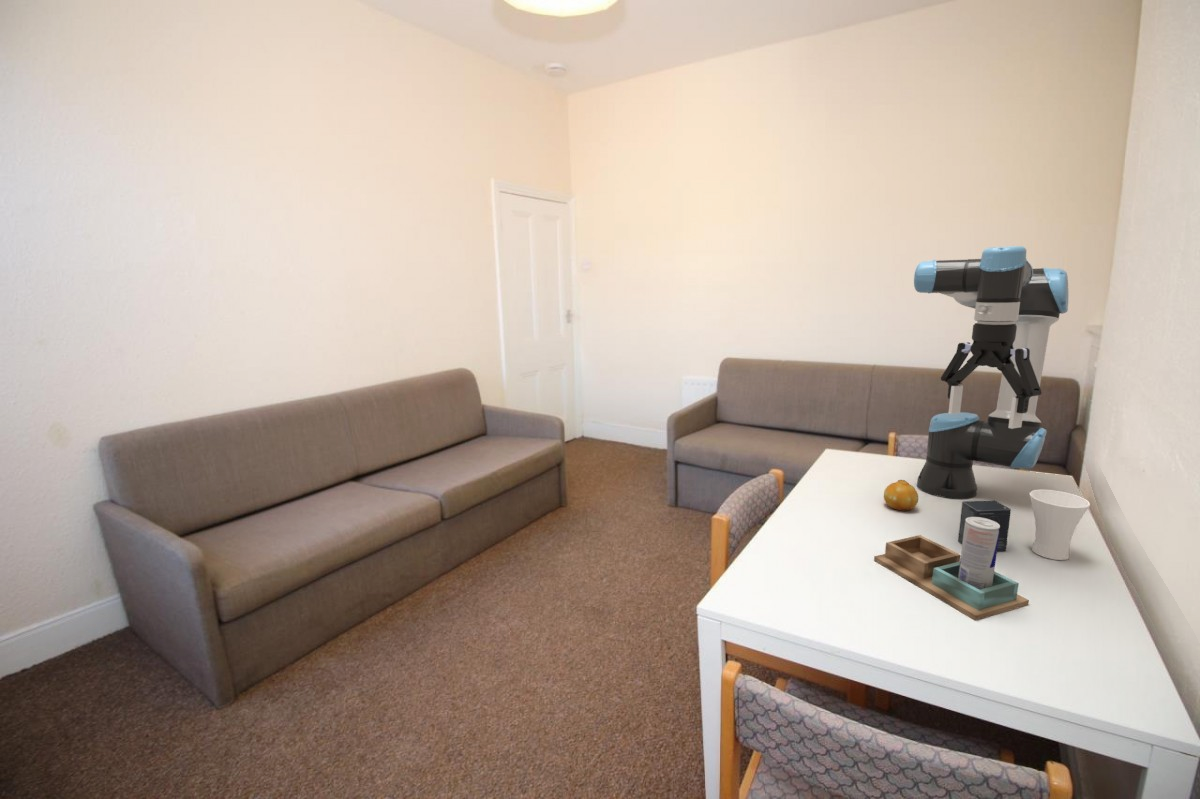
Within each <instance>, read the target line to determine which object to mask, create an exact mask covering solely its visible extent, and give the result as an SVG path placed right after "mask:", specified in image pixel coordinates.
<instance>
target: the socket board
mask: <svg viewBox="0 0 1200 799" xmlns="http://www.w3.org/2000/svg"><path fill="white" fill-rule="evenodd" d="M884 550H885V552H884V553H883V554H879V555H875V556H874V557H873V561H874V562H876V563H877V564H880V566H882V567H884V568H886V569H888V570H889V571H891V572H893V573H894V574H896V575H898V576H899V577H901V578H903V579H904V580H906V581H908V582H909V583H911V584H913V585H915V586H917V587H918V588H920V589H921V590H924V591H925V592H927V593H928V594H930V595H932V596H933V597H935V598H937V599H939V600H940V601H942V602H943V603H945V604H947V605H948V606H950V607H952V608H954V609H955V610H957V611H959V612H960V613H962V614H964V615H965V616H967V617H969V618H970V619H972V620H974V621H978V620H982V619H985V618H988V617H992V616H995V615H998V614H1002V613H1005V612H1009V611H1012V610H1015V609H1018V608H1023V607H1025V606H1028V605H1029V602H1030V599H1028V598H1025V597H1024V596H1021V595H1020V594H1018V590H1019V582H1017V581H1015V580H1014V579H1011V578H1009V577H1007V576H1005V575H1002V574H1001V573H999V572H997V571H995V570H994V576H993V583H992V587H988V588H985V589H981V590H979V589H977V588H975V587H973V586H971V585H970V584H968V583H966V582H964V581H962V580H960V579H958V575H959V567H960V559H961V553H960V554H959V553H958V552H956V551H954V550H952V549H950V548H948V547H946V546H944V545H943V544H939V543H937V542H935V541H933V540H931V539H930V538H927V537H925V536H923V535H922V534H919V535H914V536H910V537H906V538H900V539H896V540H892V541H888V542H886V543H885V549H884Z"/></svg>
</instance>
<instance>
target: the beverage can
mask: <svg viewBox="0 0 1200 799" xmlns="http://www.w3.org/2000/svg"><path fill="white" fill-rule="evenodd" d="M965 521H966V522H965V527H964V535H963V543H962V544H961V553H960V555H961V556H960V567H959V575H958V579H960V580H962V581H964V582H966V583H968V584H970V585H971V586H973V587H975V588H977V589H979V590H981V589H985V588H988V587H992V583H993V576H994V571H995V567H996V562H997V561H996V560H997V554H998V553H997V552H998V551H997V547H998V540H999V532H1000V529H999V528H1000V525H999V524H998V523H997V522H995V521H992V520H989V519H986V518H981V517H968V518H966V520H965Z"/></svg>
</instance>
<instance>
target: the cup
mask: <svg viewBox="0 0 1200 799" xmlns="http://www.w3.org/2000/svg"><path fill="white" fill-rule="evenodd" d="M1028 494H1029V498H1030V502H1031V507H1032V511H1033V515H1034V520H1035V523H1034V524H1035V537H1034V538H1035V539H1034V542H1033V545H1032V548H1031V550H1032V552H1034V553H1035V554H1037V555H1039V556H1040V557H1043V558H1047V559H1050V560H1056V561H1065V560H1068V559H1069V557H1070V544H1071V541H1072V537H1073V535H1074V533H1075V530H1076V528H1077V526H1078V524H1079V523H1080V521H1081V520H1082V518H1083V516H1084V515H1085V513H1086V512H1087V511H1088V509H1089V507H1090V506H1091V503H1090V502H1089V500H1087V499H1086V498H1084V497H1081V496H1079V495H1076V494H1073V493H1069V492H1065V491H1061V490H1054V489H1033V490H1032V491H1029V493H1028Z"/></svg>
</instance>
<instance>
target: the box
mask: <svg viewBox="0 0 1200 799" xmlns="http://www.w3.org/2000/svg"><path fill="white" fill-rule="evenodd" d="M961 503H962V504H961V510H960V511H961V512H960V519H959V528H958V536H957V537H958V539H957V542H958V543H959V544H961V545H962V543H963V535H964V527H965V522H966V521H965V520H966V518H968V517H981V518H986V519H989V520H992V521H995V522H997V523H998V524H999V525H1000V528H999V529H1000V532H999V540H998V547H997V552H1007V545H1008V536H1009V529H1010V528H1009V527H1010V520H1011V512H1012V509H1011V508H1009V507H1007V506H1006V505H1004V504H1003V503H1001V502H999V501H997V500H995V499H994V500H969V501H968V500H967V501H965V500H964V501H962V502H961Z"/></svg>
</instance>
